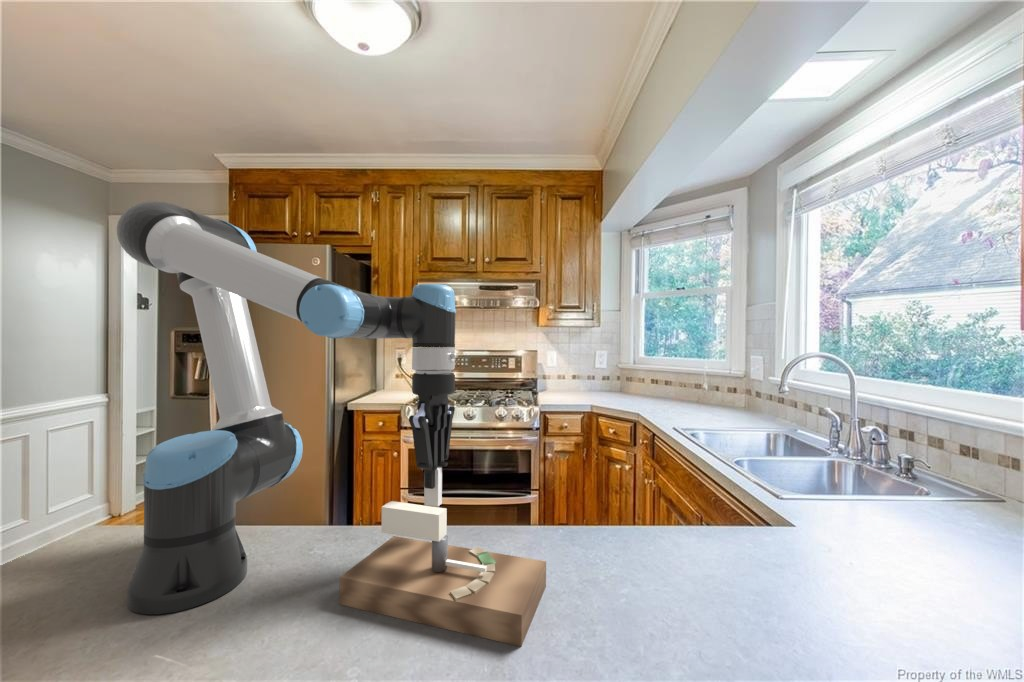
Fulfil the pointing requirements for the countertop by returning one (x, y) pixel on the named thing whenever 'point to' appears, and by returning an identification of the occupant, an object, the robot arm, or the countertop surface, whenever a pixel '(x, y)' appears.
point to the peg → (423, 530)
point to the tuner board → (448, 589)
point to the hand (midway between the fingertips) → (433, 504)
